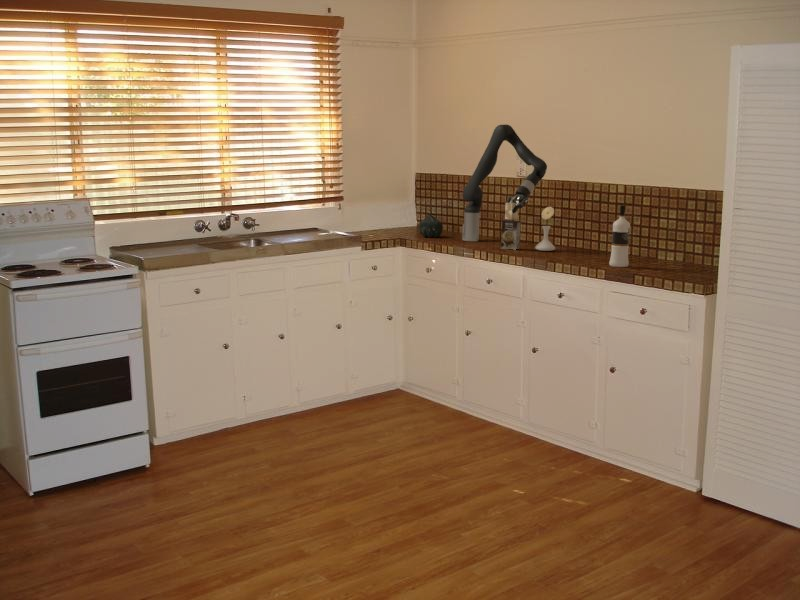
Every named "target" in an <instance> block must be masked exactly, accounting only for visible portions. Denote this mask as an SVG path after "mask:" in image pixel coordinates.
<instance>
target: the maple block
mask: <svg viewBox="0 0 800 600" xmlns="http://www.w3.org/2000/svg"><path fill="white" fill-rule="evenodd" d="M516 204H517V203H506V202H505V208H504V212H505V214H504V219H505V220H511V221H516V220H518V216H519V209H518V210H517V211H516V212H515V213H513V212H512V210H513V208H514V207H515V206H516Z"/></svg>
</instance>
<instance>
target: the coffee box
mask: <svg viewBox="0 0 800 600" xmlns="http://www.w3.org/2000/svg"><path fill="white" fill-rule="evenodd" d="M521 223H522V222H521V220H510V219H505V220H502V221H501V236H500V238H501V239H500V250H507V249H513V250H512V251H517V250H516V249H519V250H520V238H521V237H520V236H521Z"/></svg>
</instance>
